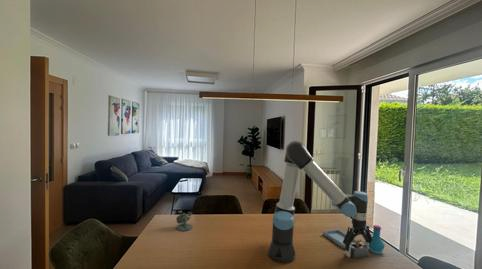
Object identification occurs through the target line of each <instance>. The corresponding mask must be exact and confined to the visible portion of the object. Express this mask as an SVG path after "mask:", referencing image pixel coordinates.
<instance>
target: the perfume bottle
mask: <svg viewBox="0 0 482 269" xmlns="http://www.w3.org/2000/svg"><path fill="white" fill-rule="evenodd" d="M372 228H373V231H372V232H373V234H372V235H371V237H372V241H371V243H369V248H368V251H370V252H372V253H374V254H382V253H383V250H384V248H385V243H384V241H383V239H382V238H381V237H380V236H381V230H382V227H380V225H376V224H375V225H372Z"/></svg>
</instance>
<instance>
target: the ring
mask: <svg viewBox="0 0 482 269" xmlns="http://www.w3.org/2000/svg"><path fill="white" fill-rule="evenodd" d="M350 246H351V253H350V258H351V257H352V258H353V259H359V258H365V257H369V256H368V255H369V248H368V246H366V245H364V242H359V247H356V243H351V244H350Z"/></svg>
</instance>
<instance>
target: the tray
mask: <svg viewBox="0 0 482 269" xmlns="http://www.w3.org/2000/svg"><path fill="white" fill-rule="evenodd" d="M346 233H347V232H346ZM346 233H345V232H343V231H342V230H340V229H338V228H337V229H329V230H328V229H327V230H323V231H322V236H324V237H325V238H327V239H329V240H330V241H332V242H333V243H334V244H336V245H338V246H339V247H341V248H342V249H344V250H345V248H346V245H345V244H344V243H343V240H344V238H345V236H346ZM355 240H357V239H355V238H354V240H353V241H352V243H356V242H355Z"/></svg>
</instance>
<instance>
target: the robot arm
mask: <svg viewBox="0 0 482 269" xmlns="http://www.w3.org/2000/svg"><path fill="white" fill-rule="evenodd" d="M284 155H285V156H284V159H283V160H284V161H283V162H284V163H285V169H284V174H283V181H282V185H281V191H280V194H279V195H280V196H279V201H278V202H277V203H276V204H275V210H274V213H273V217H272V233H271V234H272V235H271V242H270V244H269V248H268V251H267V252H268V253H267V255H268V258H270V259H271V260H272V261H274V262H276V263H277V262H278V263H284V264H287V263H288V264H289V263H291V262H293V261H295V259H296V250H295V247H294V242H293V241H294V228H295V217H294V216H295V211H296V207H295V206H294V202H295V198H296V194H297V193H296V191H297V188H298V187H297V186H298V181H299V176H300V171H301V170H302V171H304V172H305V174H306V175H307V176H308V178H310V179H311V180H312V181H313V182H314V184H315V185H316V186H318V187H319V189H320V190H321V191H322V192H323V193H324V194H325V196H326V197H327V198H329V200H331V203H330V204H331V205H332V207H336V208H338V210H339V211H341V214H342V215H344V216H345V217H347V218H351V217H352V218H351V224H352V227H349V226H348V227H347V231H346V236H345V238H344V240H343V243H344V244H345V245H346V248H345V249H344V250H345V256H346V257H348V258H351V256H350V253H351V246H350V244H351V243H352V241H353V240H354V239H355V238H356V237H357V236H359V235H360V236H362V238H363V244H364V245H366V246H368V249H369V243H371V241H372V234H371V231H370V226H368V225H367V212H368V203H369V202H368V201H369V200H368V198H369V197H368V195H369V194H367V192H365V191H359V190H355V191H353V193H352V194H348V193H347V194H346V193H344V191H342V189H340V187H338V186H337V184H336V183H335V182H334V181H333V180H332V179H331V178H330V177H329V176H328V174H326V172H325V171H323V170H322V168H321V167H320V165H318V164H317V163H316V162H315V161H314V157H313V156H312V155H311V154H310V152H309V150H308V149H307V148H306V146H305V144H304V143H302V142H301V141H298V140H293V141H291V142H289V143H288V144H287V145H286V148H285V154H284Z"/></svg>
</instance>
